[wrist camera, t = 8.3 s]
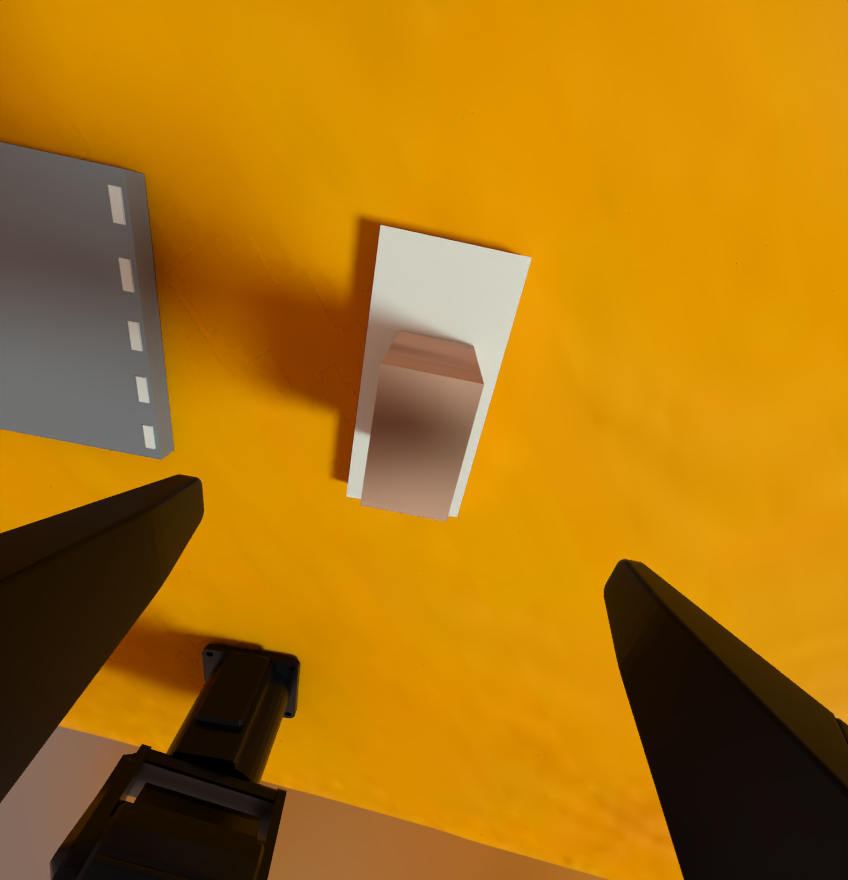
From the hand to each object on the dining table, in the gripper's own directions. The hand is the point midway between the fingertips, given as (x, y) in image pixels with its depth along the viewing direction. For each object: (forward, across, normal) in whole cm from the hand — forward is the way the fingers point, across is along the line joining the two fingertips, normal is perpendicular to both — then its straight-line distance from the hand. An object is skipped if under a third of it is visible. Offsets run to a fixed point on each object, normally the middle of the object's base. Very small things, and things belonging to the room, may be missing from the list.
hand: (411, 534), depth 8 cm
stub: (+10, 0, 0) cm, 10 cm away
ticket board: (+10, +18, 0) cm, 21 cm away
